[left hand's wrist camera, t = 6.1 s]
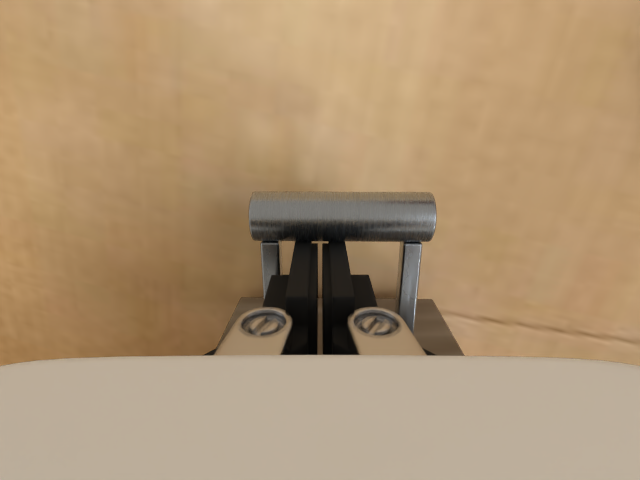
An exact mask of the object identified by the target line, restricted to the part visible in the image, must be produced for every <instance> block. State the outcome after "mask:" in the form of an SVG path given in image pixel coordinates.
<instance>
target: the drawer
mask: <svg viewBox="0 0 640 480" xmlns="http://www.w3.org/2000/svg"><path fill="white" fill-rule="evenodd" d="M249 227H250V233H251V236H252V239H253V240H255V241H262V242H261V244H260V245H261V261H262V278H263V295H264V298H253V297H242V298H241V299H240V301H239V303H238V305H237V307H236V309H235V311H234V313H233V315H232V317H231V319H230V321H229V323H228V325H227V327H226V329H225V331H224V333H223V335H222V337H221V339H220V342H219V344H218V346H217V348H218V347H219V346H220V344H221V343H222V341H223V340H224V338H225V337H226V335H227V334H228V332H229V331H230V329H231V328H232V326H233V325H234V323H235V321H236V320H237V319H238V318H239V317H240V316H241V315H242V314H243V313H245V312H247V311H249V310H252V309H255V308H260V307H262V306H263V302H264V299H265V295H266V292H267V288H268V285H269V282H270V278H271V275H283V274H282V249H281V241H383V242H400V251H399V264H398V277H397V290H396V299H376V302H377V306H378V307H380V308H385V309H388V310H391V311H393V312H395V313H397V314H398V315H399V316H400V317H401V318H402V319H403V320H404V321H405V323H406V325H407V326H408V328H409V329H410V331H411V332H412V334H413V335H414V337H415V338H416V340H417V341H418V343H419V344H420V346H421V347H422V348H424V349H426V350H428V351H430V352H432V353H434V354H436V355H438V356H464V354H463V352H462V350H461V349H460V347H459V345H458V343H457V342H456V340H455V338H454V336H453V335H452V333H451V331H450V329H449V328H448V326H447V324H446V322H445V321H444V319H443V317H442V315H441V314H440V312H439V310H438V308H437V307H436V305H435V303H434V301H433V300H432V299H417V293H418V283H419V273H420V263H421V253H422V243H421V242H429V241H431V239H432V238H433V235H434V232H435V227H436V203H435V199H434V196H433V195H432V193H430V192H253V193H252V195H251V198H250V204H249ZM317 355H323V339H322V298H318V344H317Z"/></svg>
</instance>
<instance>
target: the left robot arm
mask: <svg viewBox="0 0 640 480" xmlns="http://www.w3.org/2000/svg"><path fill="white" fill-rule="evenodd" d="M322 339H323V355H317V344H318V243H312V241H295V246H294V252H293V257H292V263H291V268H290V274H289V275H271V278H270V282H269V285H268V288H267V292H266V295H265V299H264V302H263V306H262V307H260V308H255V309H252V310H249V311H247V312H245V313H243V314H242V315H241V316H240V317H239V318H238V319H237V320H236V321H235V323H234V325H233V326H232V328H231V329H230V331H229V332H228V334H227V335H226V337H225V338H224V340H223V341H222V343H221V344H220V346H219V347H218V348H216V349H214V350H212V351H210V352H208V353H206V354H205V355H203V356H125V357H92V358H66V359H51V360H37V361H29V362H22V363H14V364H8V365H3V366H0V480H640V366H637V365H631V364H626V363H619V362H610V361H602V360H589V359H573V358H549V357H511V356H438V355H436V354H434V353H432V352H430V351H428V350H426V349H424V348H422V347H421V346H420V344H419V343H418V341H417V340H416V338H415V337H414V335H413V334H412V332H411V331H410V329H409V328H408V326H407V325H406V323H405V321H404V320H403V319H402V318H401V317H400V316H399V315H398V314H397V313H395V312H393V311H391V310H388V309H385V308H380V307H378V306H377V302H376V299H375V295H374V292H373V288H372V285H371V281H370V278H369V275H351V273H350V268H349V262H348V257H347V251H346V246H345V241H329V243H323V244H322Z"/></svg>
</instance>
